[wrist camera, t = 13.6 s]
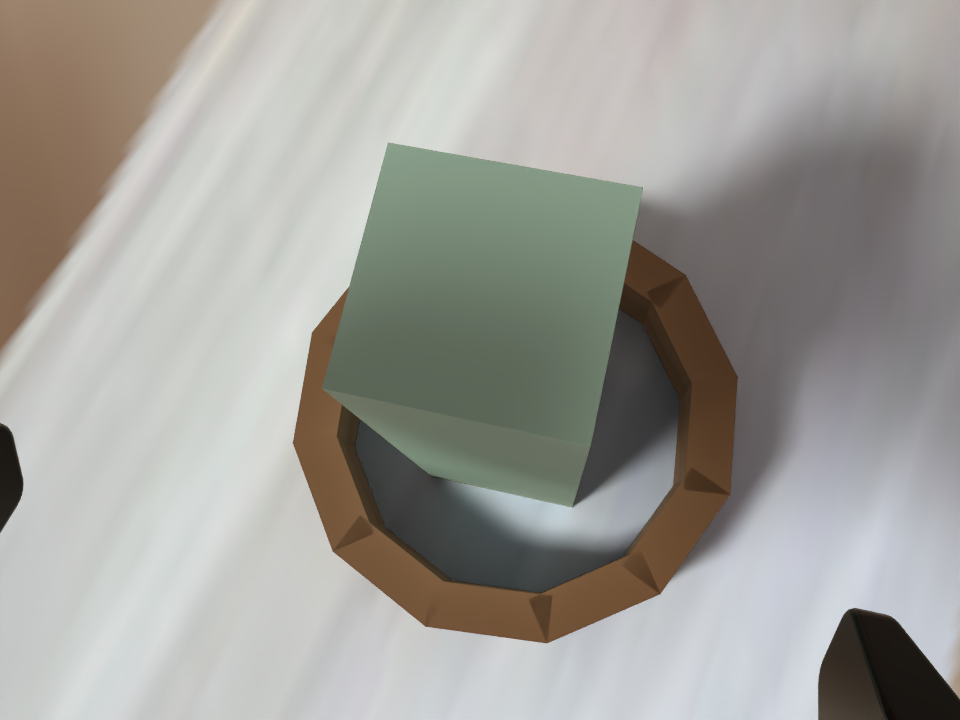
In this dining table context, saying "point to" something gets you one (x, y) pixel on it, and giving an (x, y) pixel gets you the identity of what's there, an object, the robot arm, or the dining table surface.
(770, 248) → the dining table surface
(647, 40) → the dining table surface
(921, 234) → the dining table surface
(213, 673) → the dining table surface
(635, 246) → the walnut ring
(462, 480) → the green rectangular block
